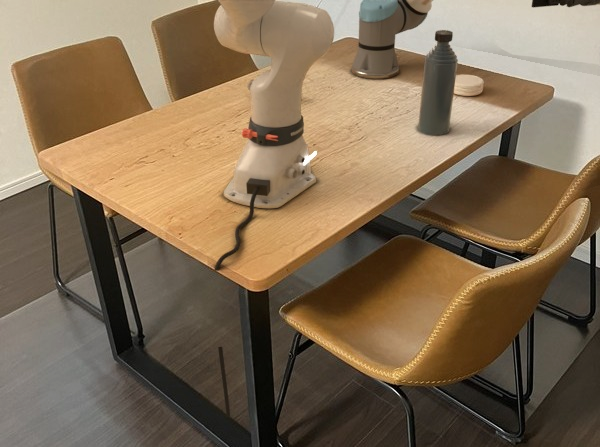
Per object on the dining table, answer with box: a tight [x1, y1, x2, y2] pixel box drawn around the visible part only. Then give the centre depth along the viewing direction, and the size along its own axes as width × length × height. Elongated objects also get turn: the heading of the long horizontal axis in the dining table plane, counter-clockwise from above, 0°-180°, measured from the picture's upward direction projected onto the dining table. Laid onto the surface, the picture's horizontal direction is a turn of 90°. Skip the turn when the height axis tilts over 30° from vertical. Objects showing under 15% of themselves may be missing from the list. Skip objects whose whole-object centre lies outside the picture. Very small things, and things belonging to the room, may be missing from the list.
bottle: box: [417, 41, 459, 136], centre depth 158 cm, size 8×8×25 cm
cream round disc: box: [454, 74, 485, 97], centre depth 187 cm, size 10×10×4 cm
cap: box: [434, 29, 454, 43], centre depth 152 cm, size 4×4×2 cm
